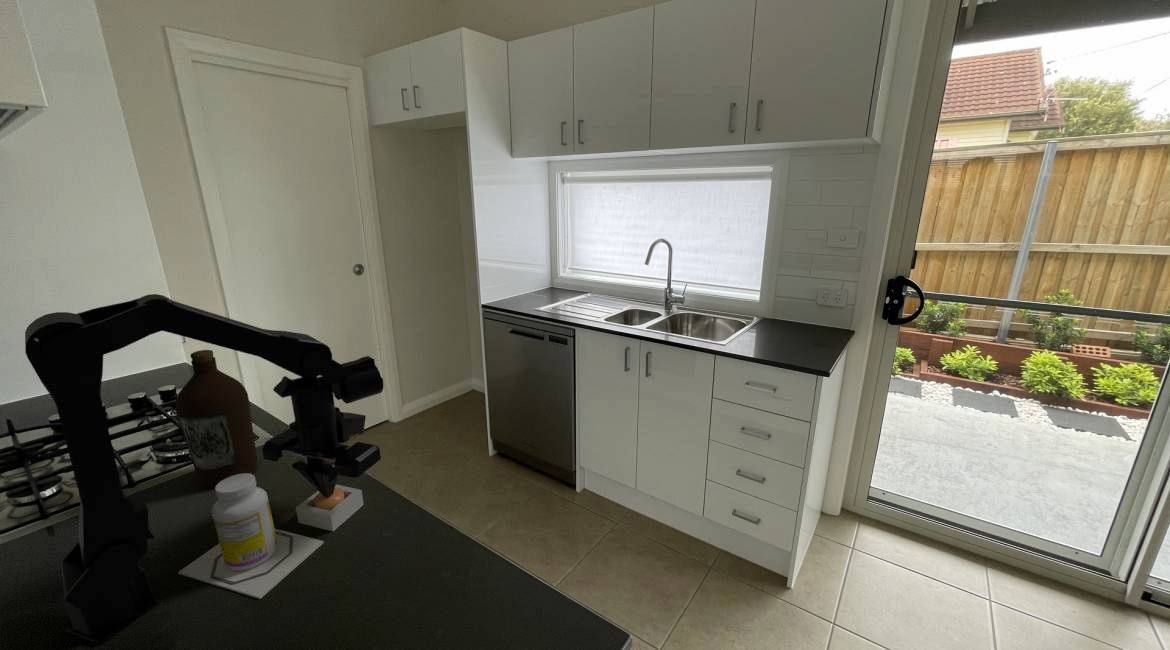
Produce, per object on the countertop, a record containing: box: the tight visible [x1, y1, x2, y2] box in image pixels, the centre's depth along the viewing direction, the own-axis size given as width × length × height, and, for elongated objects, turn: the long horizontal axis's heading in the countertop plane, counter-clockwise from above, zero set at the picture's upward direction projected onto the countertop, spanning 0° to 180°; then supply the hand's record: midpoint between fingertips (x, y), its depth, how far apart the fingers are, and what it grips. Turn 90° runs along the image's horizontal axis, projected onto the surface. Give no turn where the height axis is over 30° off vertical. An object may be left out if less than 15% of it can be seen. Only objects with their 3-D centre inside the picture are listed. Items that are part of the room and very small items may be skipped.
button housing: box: [295, 484, 364, 532], centre depth 81 cm, size 7×7×3 cm
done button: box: [314, 488, 345, 511], centre depth 80 cm, size 4×4×2 cm
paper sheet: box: [177, 528, 324, 600], centre depth 71 cm, size 11×15×1 cm
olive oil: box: [174, 349, 259, 489], centre depth 88 cm, size 11×11×25 cm
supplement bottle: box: [211, 473, 277, 570], centre depth 69 cm, size 7×7×13 cm
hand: (328, 496), depth 80 cm, fingers closed, pressing on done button
